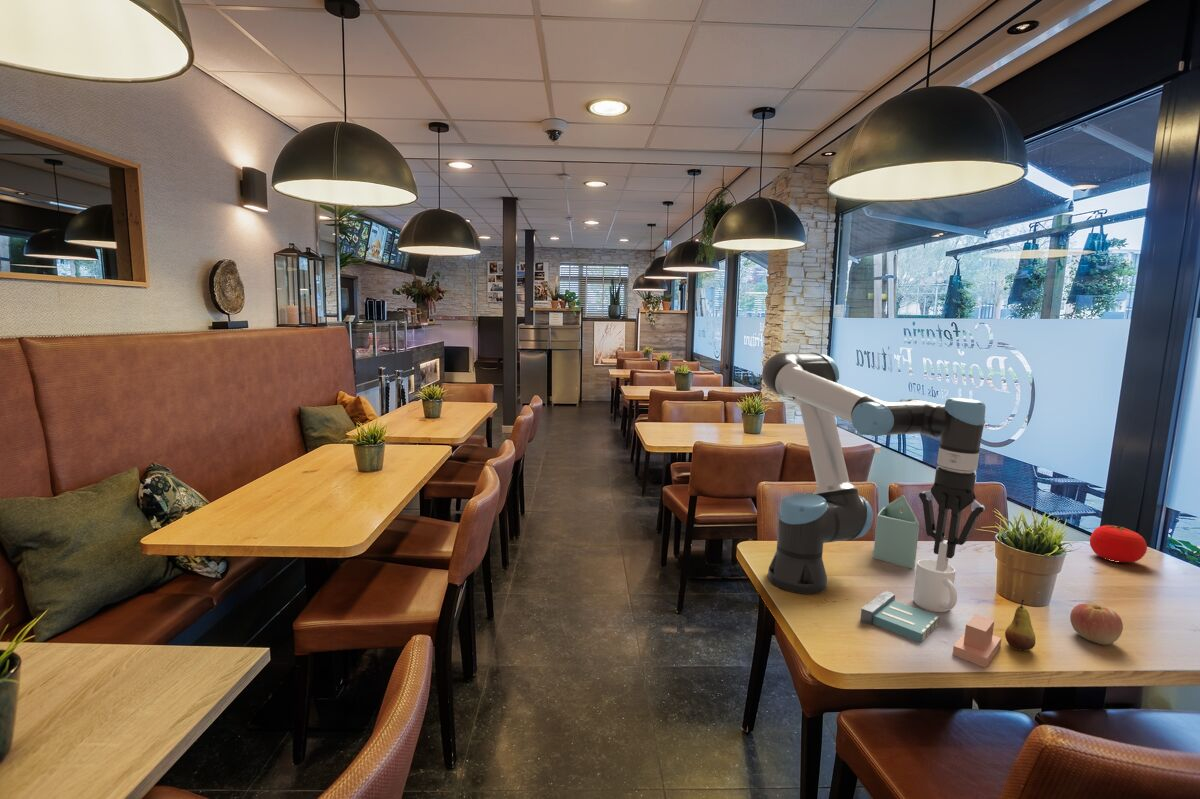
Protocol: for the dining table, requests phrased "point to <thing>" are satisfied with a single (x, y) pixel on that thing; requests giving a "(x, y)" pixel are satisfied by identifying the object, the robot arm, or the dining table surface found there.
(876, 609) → the grey end rail
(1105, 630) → the apple
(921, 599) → the mug
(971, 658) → the stub
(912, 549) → the pale teal hollow box
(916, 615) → the striped teal tile
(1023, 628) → the fruit
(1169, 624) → the dining table surface
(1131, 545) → the tomato
